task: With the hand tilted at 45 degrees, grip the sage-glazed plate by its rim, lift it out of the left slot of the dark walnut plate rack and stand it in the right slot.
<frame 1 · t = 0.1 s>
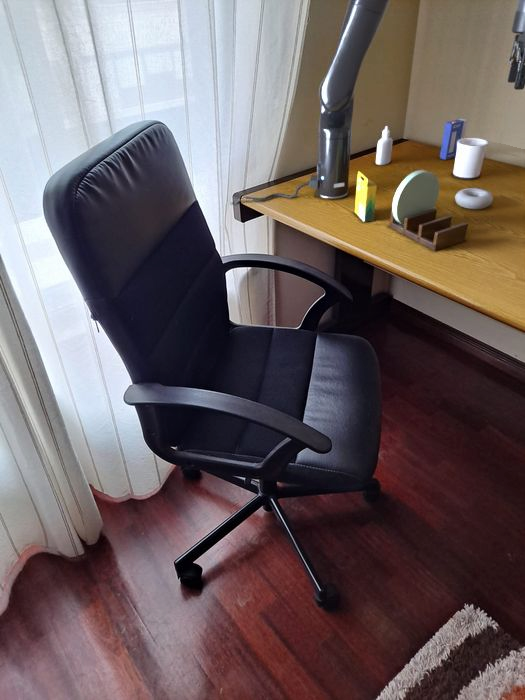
hand: (515, 85, 126), 29 cm above the table, tool pointing down, fingers open, 8 cm apart
mug: (465, 174, 160), on the table
walkman: (449, 157, 174), on the table
plate: (411, 226, 131), resting in rack
donut: (472, 204, 141), on the table
crayon box: (363, 217, 138), on the table
rack: (425, 233, 128), on the table
eye dropper bottle: (382, 163, 172), on the table
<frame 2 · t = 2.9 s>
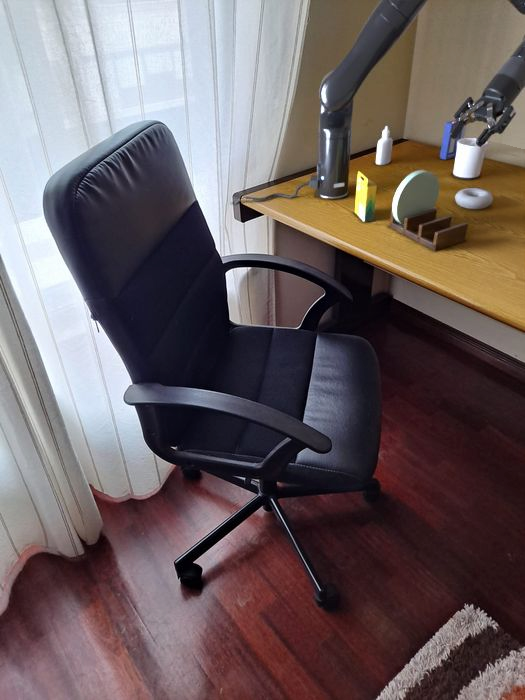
hand: (464, 140, 124), 19 cm above the table, tool tilted 45°, fingers open, 8 cm apart
nothing on the table moved.
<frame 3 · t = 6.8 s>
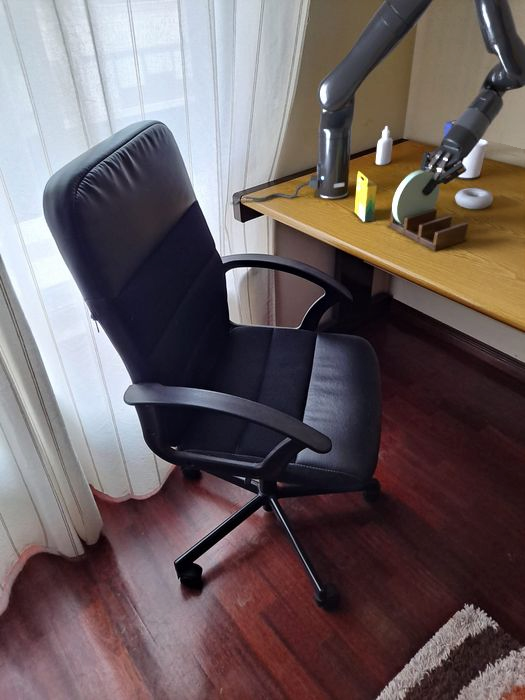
hand: (421, 192, 126), 9 cm above the table, tool tilted 45°, fingers closed on plate, 2 cm apart
plate: (411, 226, 131), resting in rack, touching gripper
everything else where it was.
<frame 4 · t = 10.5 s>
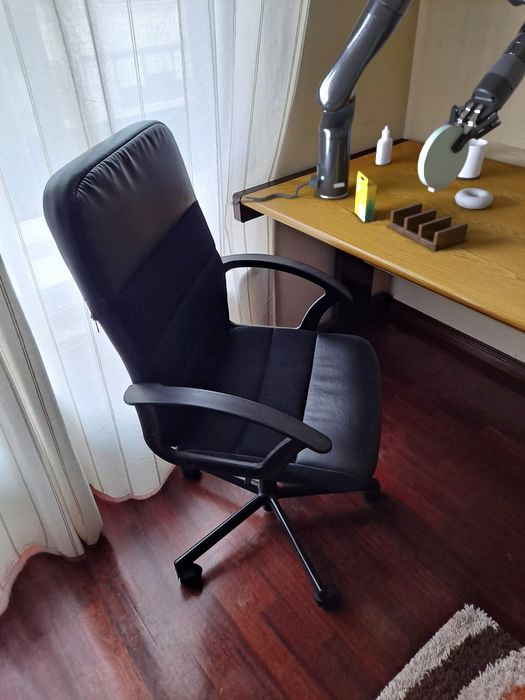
hand: (449, 149, 114), 21 cm above the table, tool tilted 45°, fingers closed on plate
plate: (438, 189, 119), point 12 cm above the table, touching gripper
everything else where it was.
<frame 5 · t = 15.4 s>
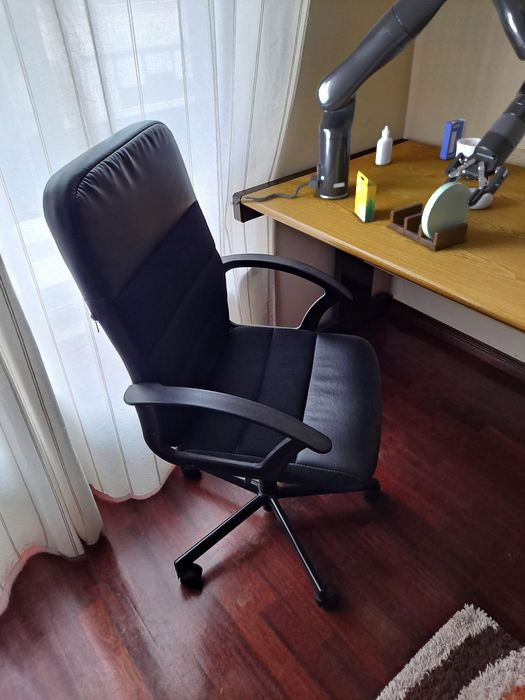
hand: (455, 199, 118), 10 cm above the table, tool tilted 45°, fingers open, 8 cm apart
plate: (441, 240, 124), resting in rack
everything else where it was.
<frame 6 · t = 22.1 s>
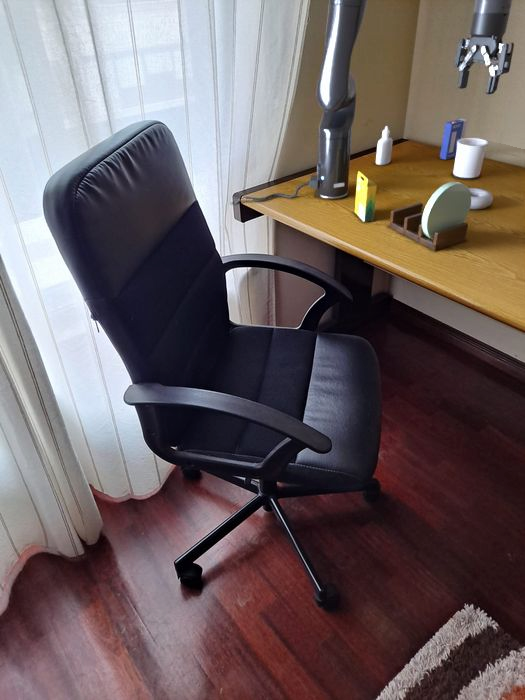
hand: (475, 90, 119), 30 cm above the table, tool pointing down, fingers open, 8 cm apart
nothing on the table moved.
at the end: plate 0.2 cm from the target spot on the rack, point 0.0 cm above the rack's base; plate tilted 0°; the gripper is holding nothing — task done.
